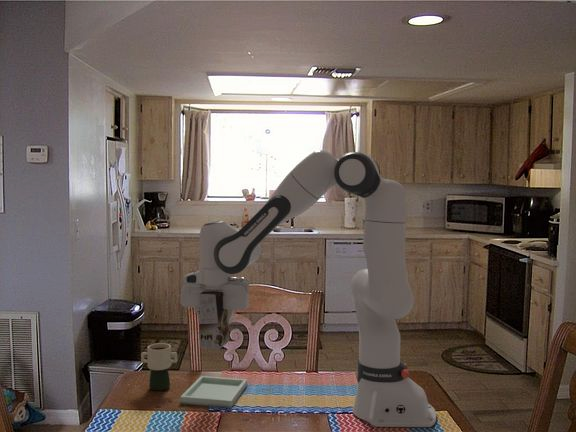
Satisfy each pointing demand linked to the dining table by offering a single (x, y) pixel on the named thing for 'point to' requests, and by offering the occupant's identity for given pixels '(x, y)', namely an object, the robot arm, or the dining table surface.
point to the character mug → (159, 364)
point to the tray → (214, 391)
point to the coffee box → (213, 321)
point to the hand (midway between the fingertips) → (214, 323)
